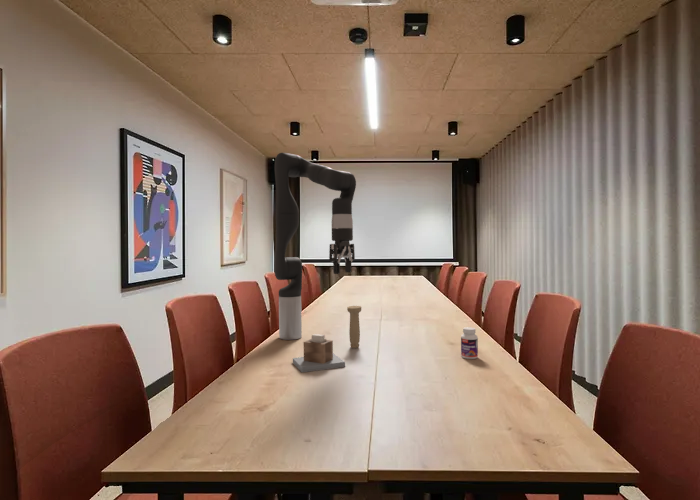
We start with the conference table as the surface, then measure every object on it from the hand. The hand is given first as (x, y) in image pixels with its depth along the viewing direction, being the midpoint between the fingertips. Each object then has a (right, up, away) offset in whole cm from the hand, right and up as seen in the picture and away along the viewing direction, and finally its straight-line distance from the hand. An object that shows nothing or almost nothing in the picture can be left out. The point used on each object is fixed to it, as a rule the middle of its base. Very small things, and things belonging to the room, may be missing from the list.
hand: (342, 273), depth 145 cm
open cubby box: (-7, -27, -15) cm, 32 cm away
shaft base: (-7, -28, -15) cm, 33 cm away
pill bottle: (+43, -28, -9) cm, 52 cm away
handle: (+4, -28, +6) cm, 29 cm away
